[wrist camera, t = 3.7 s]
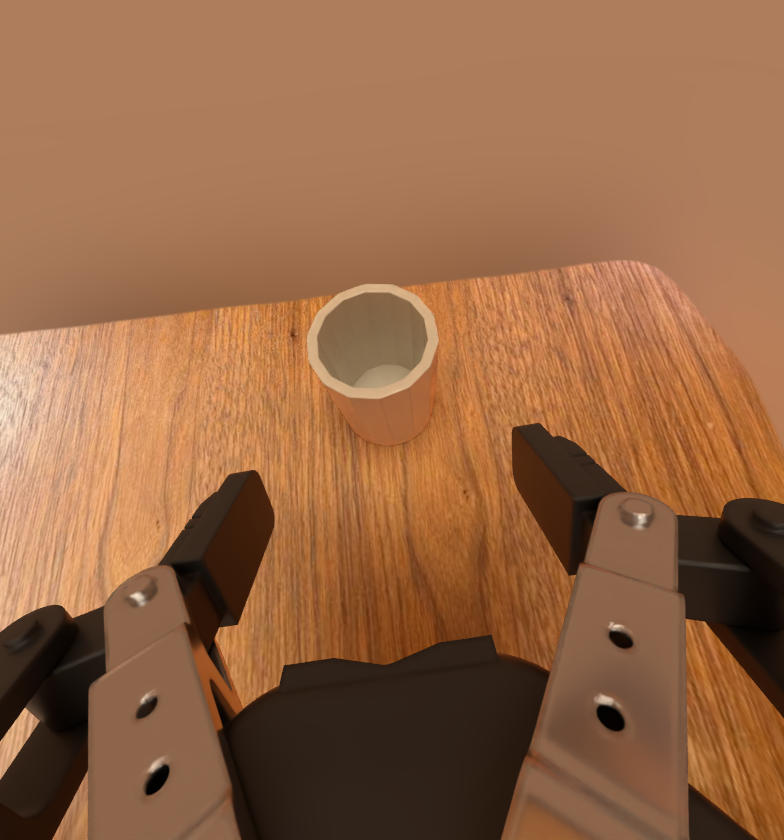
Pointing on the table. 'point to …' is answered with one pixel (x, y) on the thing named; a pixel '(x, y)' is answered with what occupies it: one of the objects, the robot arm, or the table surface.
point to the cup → (377, 360)
